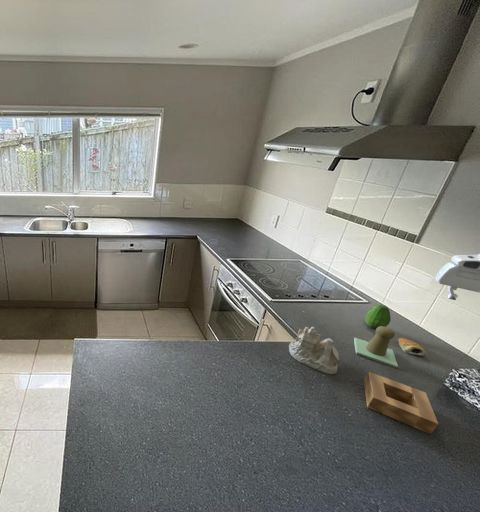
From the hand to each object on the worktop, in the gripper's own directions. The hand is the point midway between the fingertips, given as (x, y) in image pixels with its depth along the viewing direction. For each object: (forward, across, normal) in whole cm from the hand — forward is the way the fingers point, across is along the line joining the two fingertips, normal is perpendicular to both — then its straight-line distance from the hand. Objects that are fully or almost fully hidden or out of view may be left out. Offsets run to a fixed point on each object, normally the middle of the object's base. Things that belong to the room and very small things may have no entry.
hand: (472, 303), depth 91 cm
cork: (+30, +14, -4) cm, 34 cm away
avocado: (+31, +12, -28) cm, 44 cm away
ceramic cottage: (+31, +34, +16) cm, 49 cm away
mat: (+31, +14, -4) cm, 34 cm away
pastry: (+31, +2, -17) cm, 36 cm away
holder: (+31, +12, +26) cm, 42 cm away
